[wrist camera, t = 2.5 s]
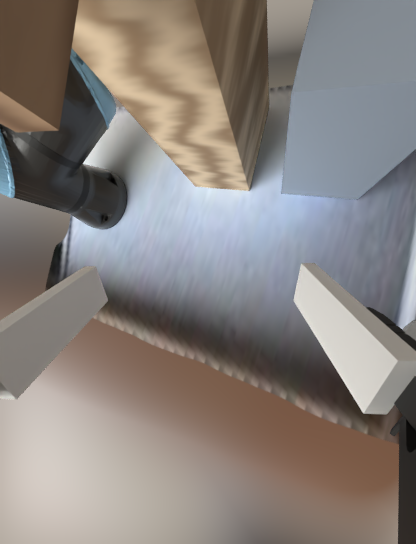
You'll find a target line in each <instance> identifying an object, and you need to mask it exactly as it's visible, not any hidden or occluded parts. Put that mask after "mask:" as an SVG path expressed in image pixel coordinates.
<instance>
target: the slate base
mask: <svg viewBox="0 0 416 544" xmlns="http://www.w3.org/2000/svg"><path fill="white" fill-rule="evenodd" d="M415 149H416V0H314V2H313V6H312V10H311V14H310V19H309V22H308V26H307V31H306V35H305V39H304V43H303V47H302V52H301V55H300V59H299V64H298V68H297V72H296V76H295V80H294V84H293V88H292V92H291V102H290V112H289V121H288V131H287V141H286V150H285V160H284V170H283V179H282V189H281V194H293V195H305V196H317V197H330V198H342V199H354V200H358V199H359V198H360V197H361V196H362V195H363V194H365V193H366V192H367V191H368V190H369V189H370V188H371V187H373V186H374V185H375V184H376V183H377V182H378V181H380V180H381V179H382V178H383V177H384V176H385V175H386V174H388V173H389V172H390V171H391V170H392V169H393V168H395V167H396V166H397V165H398V164H399V163H400V162H401V161H403V160H404V159H405V158H406V157H407V156H408V155H410V154H411V153H412V152H413V151H414V150H415Z"/></svg>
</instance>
